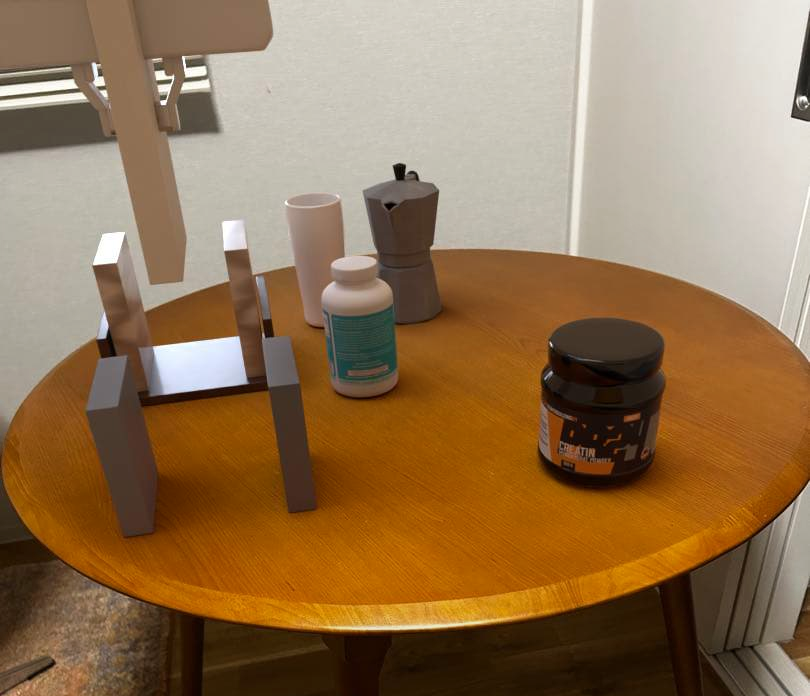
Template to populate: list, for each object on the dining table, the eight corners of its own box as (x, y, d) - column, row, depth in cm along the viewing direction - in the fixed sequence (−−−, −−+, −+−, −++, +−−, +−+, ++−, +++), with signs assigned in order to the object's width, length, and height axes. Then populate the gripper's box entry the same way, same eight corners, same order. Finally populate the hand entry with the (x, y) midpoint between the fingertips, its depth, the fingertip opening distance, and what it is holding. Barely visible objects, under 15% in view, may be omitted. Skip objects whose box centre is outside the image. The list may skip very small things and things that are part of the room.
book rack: (115, 409, 91) (76, 271, 82) (125, 357, 102) (92, 231, 93) (282, 388, 93) (261, 251, 84) (273, 339, 104) (255, 214, 95)
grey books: (123, 537, 71) (84, 410, 64) (131, 477, 79) (98, 358, 72) (317, 509, 73) (299, 383, 66) (306, 452, 81) (289, 334, 74)
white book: (150, 285, 61) (83, -10, 51) (157, 241, 70) (102, -19, 59) (183, 282, 62) (124, -12, 51) (186, 238, 70) (137, -20, 60)
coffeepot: (433, 332, 104) (428, 177, 93) (359, 329, 105) (346, 177, 95) (453, 288, 116) (450, 146, 105) (386, 286, 118) (377, 147, 107)
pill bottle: (412, 382, 93) (406, 259, 85) (363, 407, 88) (352, 280, 80) (366, 365, 97) (356, 246, 89) (317, 387, 93) (302, 265, 85)
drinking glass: (362, 321, 108) (352, 199, 99) (316, 335, 105) (301, 210, 96) (335, 307, 112) (323, 188, 103) (290, 320, 109) (274, 199, 100)
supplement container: (514, 468, 77) (518, 345, 70) (574, 423, 83) (583, 305, 76) (617, 506, 71) (633, 376, 64) (674, 454, 78) (694, 330, 71)
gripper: (258, -117, 56) (284, 113, 64) (-66, -102, 53) (5, 135, 62) (263, -122, 51) (291, 128, 59) (-94, -106, 48) (-13, 153, 57)
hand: (142, 132), depth 60 cm, fingers closed on white book, 2 cm apart
